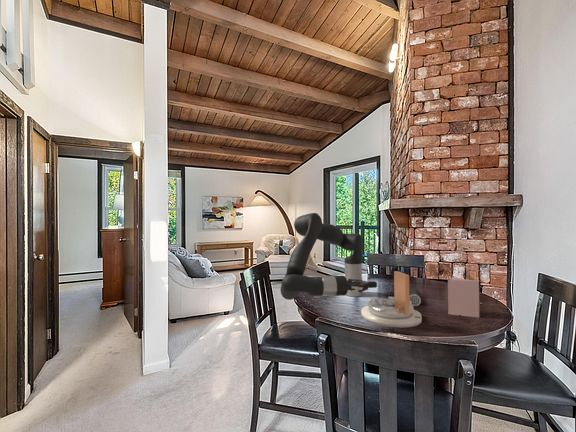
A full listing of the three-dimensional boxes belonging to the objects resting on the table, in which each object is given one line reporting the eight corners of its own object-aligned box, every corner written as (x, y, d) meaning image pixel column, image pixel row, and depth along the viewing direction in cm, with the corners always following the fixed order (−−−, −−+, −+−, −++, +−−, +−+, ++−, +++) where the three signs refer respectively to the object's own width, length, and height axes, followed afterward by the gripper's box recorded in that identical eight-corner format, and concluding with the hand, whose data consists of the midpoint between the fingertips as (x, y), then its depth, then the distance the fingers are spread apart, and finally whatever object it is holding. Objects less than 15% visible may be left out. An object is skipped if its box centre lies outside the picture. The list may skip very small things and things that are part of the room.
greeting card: (480, 317, 124) (479, 281, 124) (471, 320, 120) (470, 283, 120) (453, 310, 134) (452, 276, 134) (443, 313, 130) (443, 278, 130)
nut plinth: (376, 305, 142) (376, 300, 142) (429, 315, 126) (429, 310, 126) (350, 318, 124) (350, 313, 124) (409, 332, 108) (409, 326, 108)
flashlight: (408, 297, 156) (408, 287, 156) (420, 298, 154) (419, 287, 154) (408, 305, 142) (408, 294, 142) (420, 306, 140) (420, 295, 140)
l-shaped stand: (361, 306, 133) (361, 266, 133) (399, 304, 135) (399, 264, 135) (385, 324, 111) (384, 276, 111) (429, 321, 113) (429, 274, 113)
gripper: (338, 279, 106) (383, 277, 109) (328, 272, 119) (369, 271, 122) (338, 300, 106) (384, 298, 109) (328, 291, 119) (369, 290, 122)
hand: (376, 284), depth 115 cm, fingers closed
